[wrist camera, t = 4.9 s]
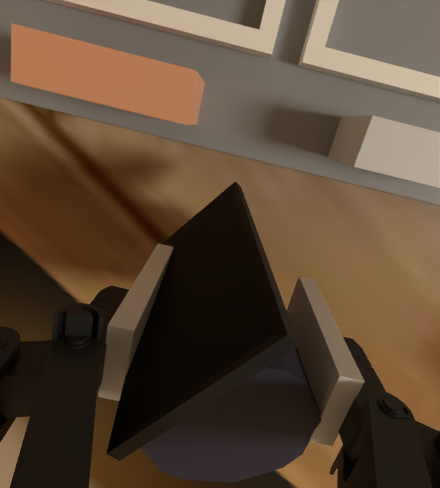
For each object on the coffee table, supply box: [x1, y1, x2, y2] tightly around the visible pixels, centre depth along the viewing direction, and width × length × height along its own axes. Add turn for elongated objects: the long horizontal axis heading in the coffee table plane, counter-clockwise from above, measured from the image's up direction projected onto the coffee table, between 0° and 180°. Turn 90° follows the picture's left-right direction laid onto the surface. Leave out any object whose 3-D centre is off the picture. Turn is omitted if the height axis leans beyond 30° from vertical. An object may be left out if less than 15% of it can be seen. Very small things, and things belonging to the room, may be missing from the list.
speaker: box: [107, 181, 322, 482], centre depth 13 cm, size 8×6×10 cm
